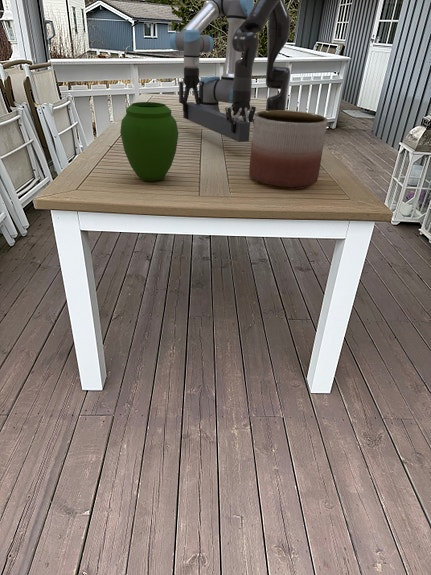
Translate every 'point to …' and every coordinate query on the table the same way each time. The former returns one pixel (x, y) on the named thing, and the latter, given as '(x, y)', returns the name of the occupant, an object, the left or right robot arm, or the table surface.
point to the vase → (149, 139)
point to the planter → (287, 148)
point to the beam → (217, 122)
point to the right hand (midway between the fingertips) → (239, 132)
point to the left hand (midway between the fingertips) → (191, 117)
